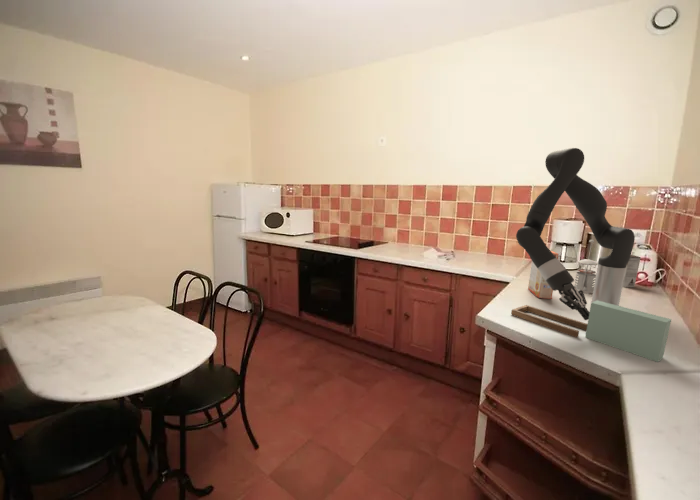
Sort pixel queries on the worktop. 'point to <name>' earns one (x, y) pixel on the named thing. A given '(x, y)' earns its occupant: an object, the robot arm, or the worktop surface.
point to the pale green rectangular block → (628, 329)
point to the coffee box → (631, 271)
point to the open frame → (549, 324)
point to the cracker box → (539, 282)
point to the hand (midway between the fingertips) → (589, 318)
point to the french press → (586, 276)
